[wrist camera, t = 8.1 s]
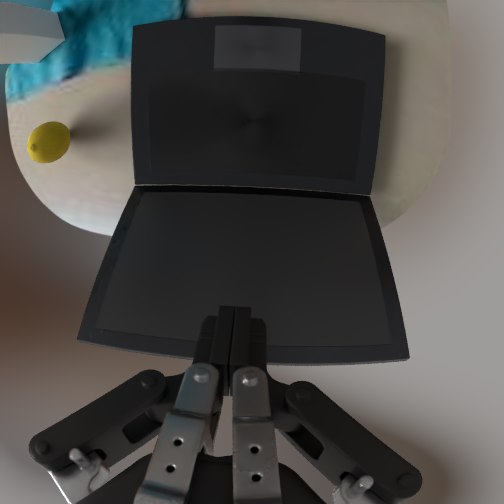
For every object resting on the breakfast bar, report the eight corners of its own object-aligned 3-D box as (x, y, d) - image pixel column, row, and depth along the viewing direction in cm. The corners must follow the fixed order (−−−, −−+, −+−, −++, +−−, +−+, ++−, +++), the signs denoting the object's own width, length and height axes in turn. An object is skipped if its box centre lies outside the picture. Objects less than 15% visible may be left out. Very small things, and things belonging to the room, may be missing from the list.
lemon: (86, 134, 34) (53, 145, 27) (67, 162, 36) (34, 178, 29) (64, 110, 32) (29, 117, 25) (46, 139, 34) (12, 151, 27)
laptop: (138, 28, 27) (132, 25, 26) (380, 37, 27) (385, 35, 25) (139, 180, 37) (134, 184, 36) (365, 191, 37) (370, 195, 35)
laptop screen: (75, 338, 23) (80, 342, 24) (410, 357, 23) (406, 360, 23) (134, 184, 36) (136, 190, 37) (370, 195, 36) (368, 200, 36)
